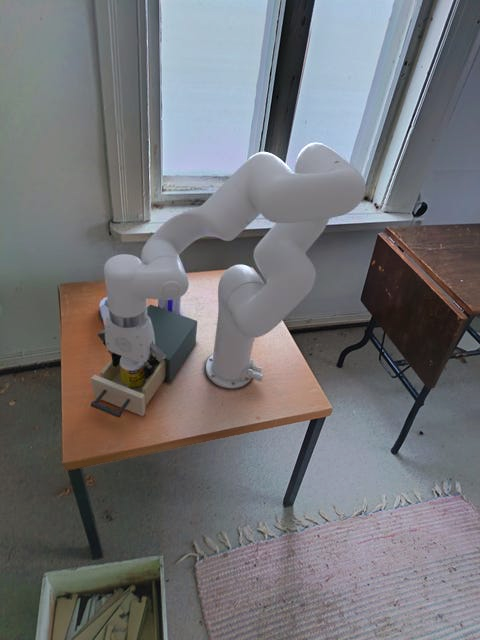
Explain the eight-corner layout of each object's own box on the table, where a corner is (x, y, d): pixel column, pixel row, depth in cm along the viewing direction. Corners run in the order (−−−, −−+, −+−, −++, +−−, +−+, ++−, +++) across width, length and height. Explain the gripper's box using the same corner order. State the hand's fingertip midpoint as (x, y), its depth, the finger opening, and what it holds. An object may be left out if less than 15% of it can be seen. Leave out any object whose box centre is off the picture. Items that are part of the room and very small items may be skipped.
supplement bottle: (128, 395, 95) (126, 366, 88) (117, 379, 98) (114, 350, 91) (150, 384, 98) (148, 356, 91) (138, 370, 101) (136, 341, 94)
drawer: (131, 433, 89) (130, 415, 85) (81, 412, 91) (77, 393, 87) (172, 372, 103) (172, 354, 99) (128, 355, 105) (126, 337, 101)
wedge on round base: (139, 329, 114) (129, 301, 122) (138, 312, 109) (128, 283, 118) (106, 336, 111) (98, 305, 119) (103, 317, 106) (95, 287, 115)
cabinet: (169, 383, 102) (169, 360, 96) (120, 364, 104) (117, 340, 98) (195, 343, 113) (197, 320, 107) (150, 327, 115) (150, 304, 110)
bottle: (183, 319, 120) (185, 271, 108) (165, 325, 117) (166, 276, 105) (172, 304, 124) (173, 256, 112) (154, 310, 121) (153, 261, 109)
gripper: (80, 309, 82) (91, 366, 94) (157, 337, 79) (159, 393, 90) (102, 289, 87) (110, 345, 99) (175, 314, 84) (174, 370, 96)
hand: (133, 368), depth 95 cm, fingers open, 7 cm apart
